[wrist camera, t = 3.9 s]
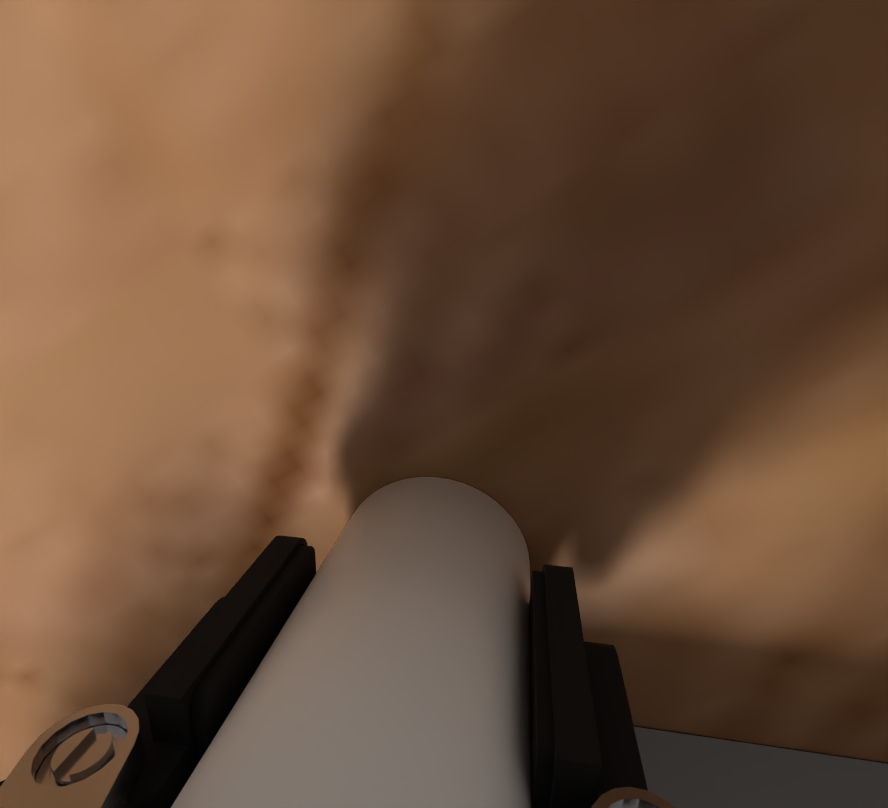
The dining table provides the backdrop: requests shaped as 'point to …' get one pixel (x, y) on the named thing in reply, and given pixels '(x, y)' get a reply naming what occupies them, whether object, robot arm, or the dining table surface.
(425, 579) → the peg
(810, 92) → the dining table surface
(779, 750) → the socket station
